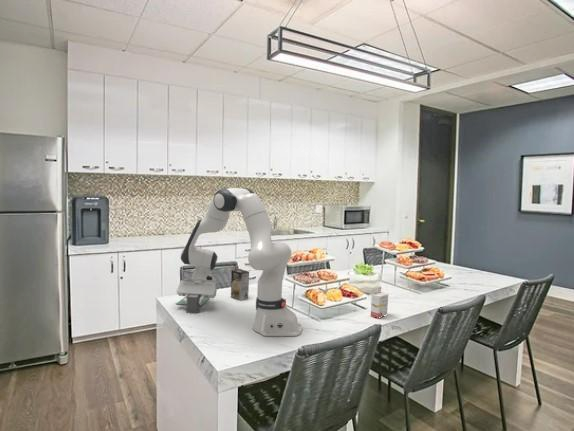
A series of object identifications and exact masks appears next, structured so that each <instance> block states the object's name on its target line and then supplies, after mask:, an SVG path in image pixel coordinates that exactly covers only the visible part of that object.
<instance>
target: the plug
mask: <svg viewBox="0 0 574 431" xmlns="http://www.w3.org/2000/svg"><path fill="white" fill-rule="evenodd" d="M198 300H200V296H199V295H192V294H190V295H189V296H188V297H187V305H186V313H187V314H198V313H199V312H200V308H201V306H200V305H198Z"/></svg>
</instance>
